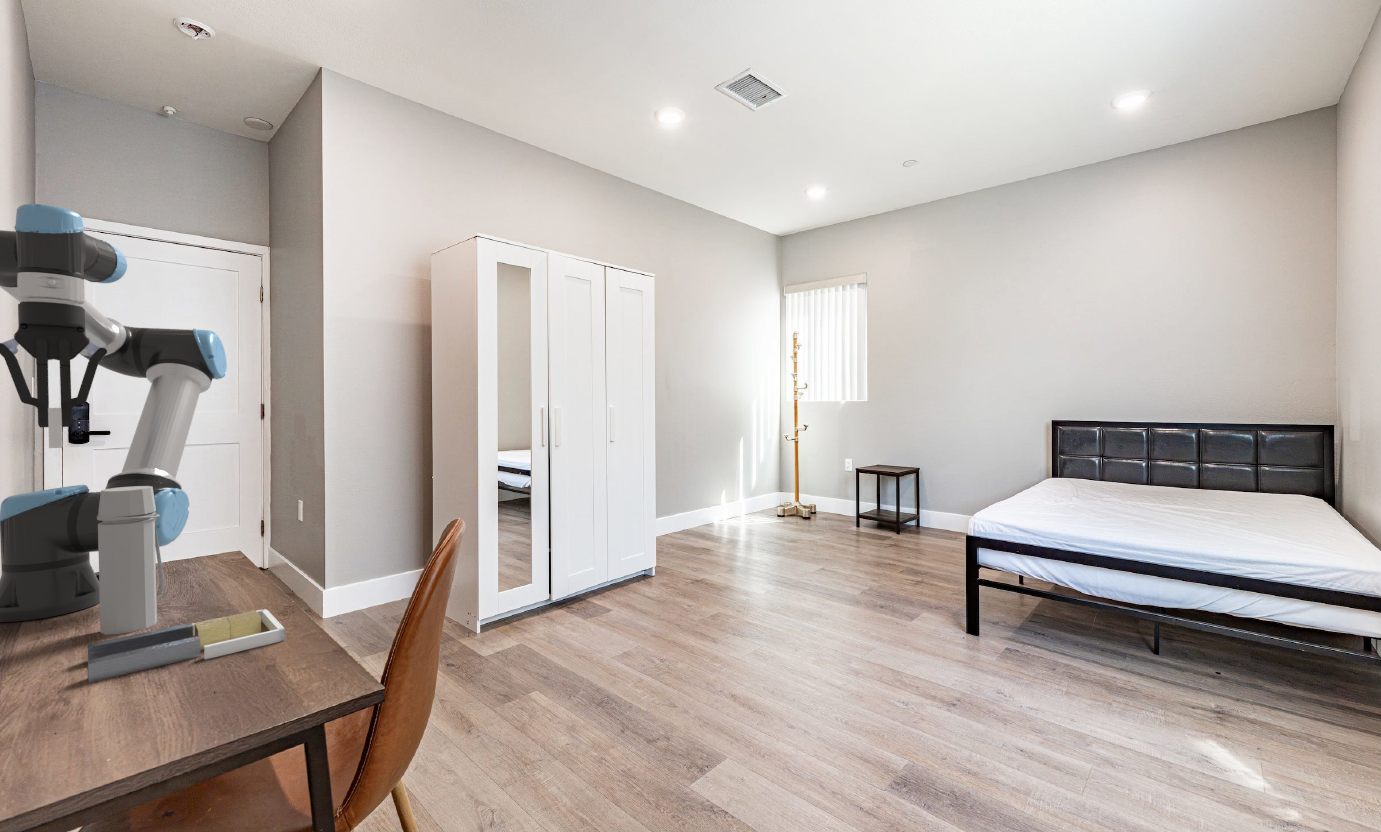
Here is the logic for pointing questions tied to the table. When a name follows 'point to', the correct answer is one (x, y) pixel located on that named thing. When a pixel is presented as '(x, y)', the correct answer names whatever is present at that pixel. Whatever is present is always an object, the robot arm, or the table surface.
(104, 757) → the table surface
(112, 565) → the water bottle
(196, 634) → the tan cube block
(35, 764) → the table surface
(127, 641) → the slot rail
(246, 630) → the khaki cube block
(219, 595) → the table surface
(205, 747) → the table surface
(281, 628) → the white rectangular frame
